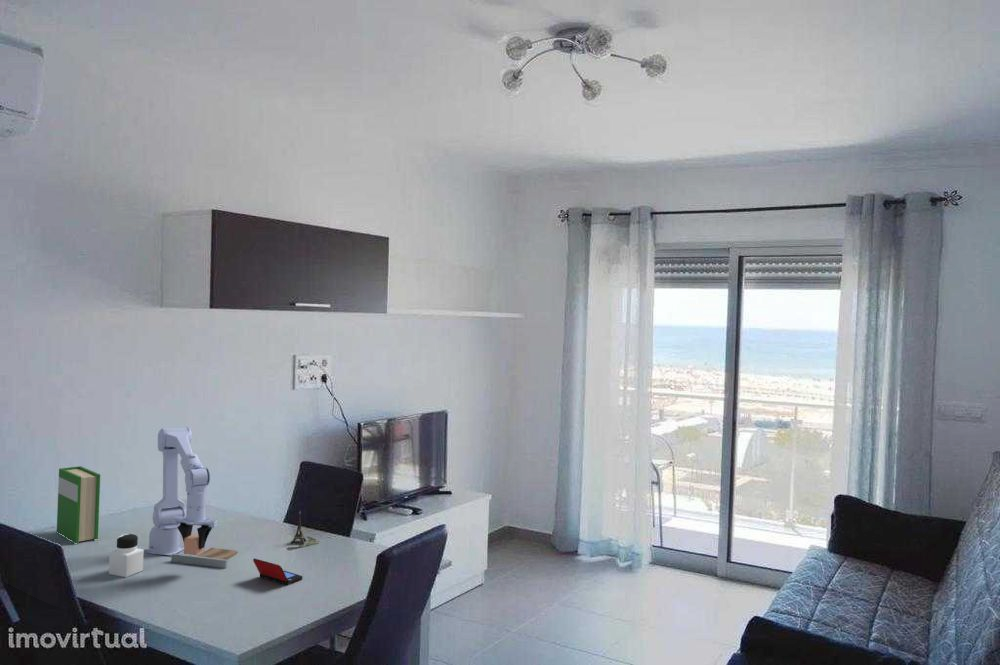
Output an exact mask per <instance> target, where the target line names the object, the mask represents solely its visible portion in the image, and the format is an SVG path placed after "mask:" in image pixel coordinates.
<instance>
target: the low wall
mask: <svg viewBox="0 0 1000 665" xmlns="http://www.w3.org/2000/svg"><path fill="white" fill-rule="evenodd" d="M228 560H229V559H227V560H225V559H217V558H208V557H200V556H197V555H190V554H184V553H183V554H181V553H176V554H174V553H173V554H172V556H171V560H170V561H171V563H173V562H174V563H178V564H179V563H180V564H190V565H196V566H202V567H203V566H207V567H212V568H213V567H214V568H222V569H227V568H228Z"/></svg>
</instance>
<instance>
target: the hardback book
mask: <svg viewBox="0 0 1000 665" xmlns="http://www.w3.org/2000/svg"><path fill="white" fill-rule="evenodd" d="M57 487H58V489H57V514H56V517H57V518H56V533H57V532H58V533H60V534H62V535H64V536H65V537H67V538H68V539H70V540H72V541H73V542H75V543H78V542H83V541H84V542H85V541H90V540H93V539H98V540H99V523H100V522H99V521H100V520H99V518H100V515H99V514H100V493H101V492H100V491H101V474H100V473H98V472H95V471H93V470H91V469H88V468H86V467H83V466H82V465H79V466H78V465H77V466H71V467H62V468H61V467H60V468H58V486H57Z"/></svg>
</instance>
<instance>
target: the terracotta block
mask: <svg viewBox="0 0 1000 665" xmlns="http://www.w3.org/2000/svg"><path fill="white" fill-rule="evenodd" d="M205 547H206V546H204V548H202V549H199V536H198V534H192V533H191V535H190V536H188V537H186V538H184V541H183V548H184V550H183V555H191V556H197V555H199V554H201V553H203V552H205V551H206V548H205Z"/></svg>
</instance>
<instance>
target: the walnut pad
mask: <svg viewBox="0 0 1000 665" xmlns="http://www.w3.org/2000/svg"><path fill="white" fill-rule="evenodd" d="M237 554H238V550H235V549H227V548H225V549H224V548H217V547H211V548H209V549H207V550H205V551H204V552H202V553H200V554H198V555H196V556H200V557H208V558H217V559H225V560H229V559H231V558H232V557H234V556H236V555H237Z"/></svg>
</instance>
